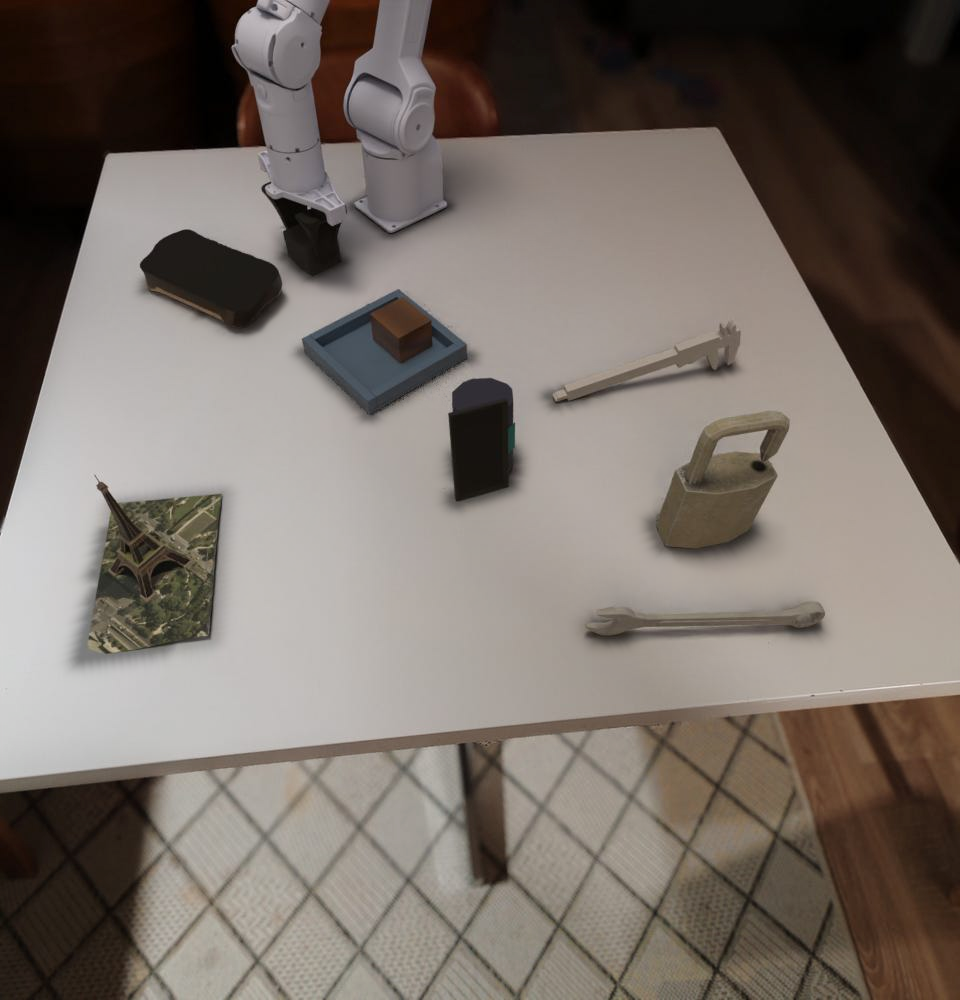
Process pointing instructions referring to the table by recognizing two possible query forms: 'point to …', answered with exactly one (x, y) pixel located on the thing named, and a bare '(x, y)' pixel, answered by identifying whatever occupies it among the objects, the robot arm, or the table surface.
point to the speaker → (481, 436)
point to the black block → (305, 251)
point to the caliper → (661, 361)
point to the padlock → (721, 484)
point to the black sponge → (211, 277)
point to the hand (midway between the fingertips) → (312, 249)
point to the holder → (379, 356)
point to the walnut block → (401, 329)
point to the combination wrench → (705, 618)
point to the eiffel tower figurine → (155, 572)
